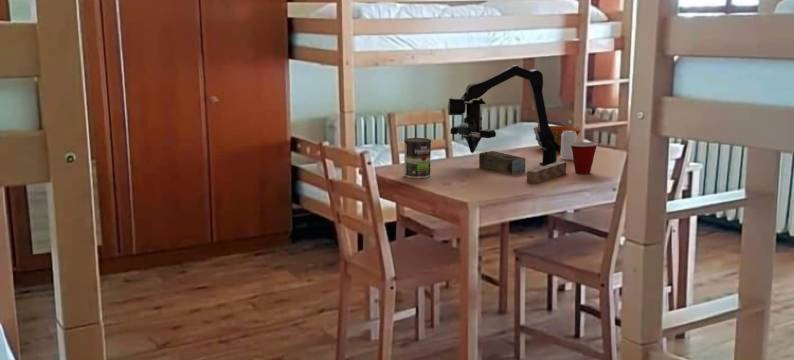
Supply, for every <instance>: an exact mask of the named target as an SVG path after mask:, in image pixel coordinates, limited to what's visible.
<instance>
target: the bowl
mask: <svg viewBox="0 0 794 360" xmlns="http://www.w3.org/2000/svg"><path fill="white" fill-rule="evenodd" d="M549 127H550V129H551V131H552V133H553V136H554V139H555V142H556V143H557V144H558V145H559V146H560V148H559V151H561V137H562V133H563V131H565V130H572V131H576V134H577V136H578V135H579V134H580V132H581V129H580V128H578V127H574V126H568V125H567V126H566V125H549ZM537 129H538V126H534V127H533V131H534V130H537ZM537 144H538V146H540V147H541V148H542V146H541V144H539V143H538V142H537Z"/></svg>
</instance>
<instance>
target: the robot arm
mask: <svg viewBox="0 0 794 360" xmlns="http://www.w3.org/2000/svg"><path fill="white" fill-rule="evenodd" d="M514 77H519V78H521V79H525V81H526V84H527V86H528V88H529V90H530V92H531V95H532V100H533V101H532V102H533V106H534V112H535V116H536V121H537V127H538V129H537V130H534V129H533V131H534V134H535V140H536V142H537V144H538V143H539V144H541V146H542V147H541V146H540V147H541V148H542V162H539V165H541V166H545V165H549V164H552V163H555V162H558V159H557V158H558V152H559V151H560V150H559V148H560V146H559V145H558V144H557V143H556V142H555V139H554V136H553V133H552V131H551V129H550V127H549V126H550V125H549V122H548V115H547V110H546V106H545V100H544V95H543V94H544V93H543V88H544V76H543V73H542V72H541V71H539V70H537V69H534V68H533V69H529V70H528V69H526V68H523V67H520V66H518V65H515V64H513V65H511V66H510V67H508V68H506V69H504V70H502V71H499V72H498V73H496V74H494V75H492V76H490V77H488V78H486V79H484V80H479V81H475V82H472V83H469V84H468V85H467V86H466V88H465V92H464V94H463V95H462V96H461V98H453V97H449V98H448V102H447V103H448V105H447V116H463V114H464V113H465V115H466V116H465V117H464V118H463V122H461V123H460V124H459V125H455V126H452V127H451V128H450V134H451V135H462V136H461V137H462V138H464V139H465V141H466V143H467V145H468V148H469V151H470V153H471V154H474V153H475V151H476V149H477V147H478V144H479V143H480V141H481V140H482V139H491V138H496V137H497V135H496V130H495V129H489V128H486V129H483V127H481V121H482V120H483V117H482V116H481V107H482V106H481V105H486V101H484V99H483V98H482V97H483V95H485V94H486V93H487V92H488V91H489V90H490V89H493V88H494V87H496V86H498V85H500V84H502V83H504V82H505V81H508V80H510V79H513V78H514ZM539 144H538V145H539Z"/></svg>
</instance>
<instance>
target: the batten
mask: <svg viewBox="0 0 794 360" xmlns="http://www.w3.org/2000/svg"><path fill="white" fill-rule="evenodd" d="M564 174H567V161H564V160H563V161H562V160H559V161H558V160H557V162H555V163H552V164H549V165H541V166H539V167H536V168H533V169H530V170H527V171H526V184H530V185H535V184H538V183H542V182H545V181H547V180H549V179H553V178H556V177H558V176H562V175H564Z"/></svg>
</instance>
